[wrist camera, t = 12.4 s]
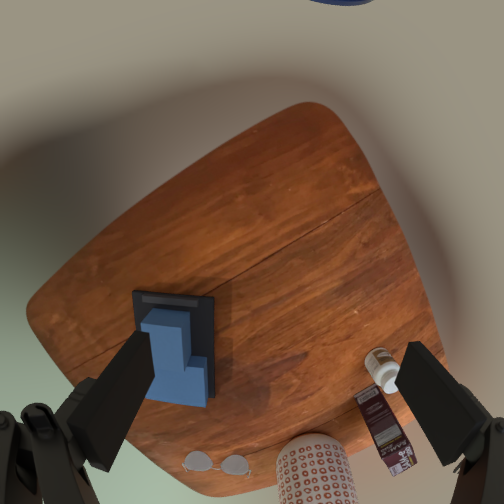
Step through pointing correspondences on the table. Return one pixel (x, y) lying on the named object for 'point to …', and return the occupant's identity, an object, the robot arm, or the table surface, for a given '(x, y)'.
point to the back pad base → (202, 348)
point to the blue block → (169, 338)
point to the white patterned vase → (314, 472)
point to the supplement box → (385, 430)
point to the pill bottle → (382, 369)
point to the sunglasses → (229, 465)
